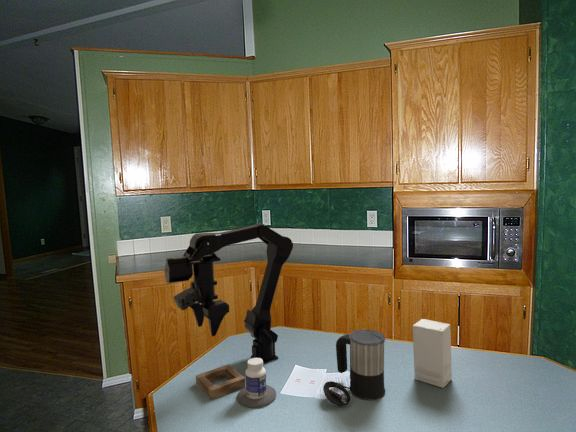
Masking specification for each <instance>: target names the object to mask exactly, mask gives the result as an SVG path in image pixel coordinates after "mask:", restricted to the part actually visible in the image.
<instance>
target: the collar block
mask: <svg viewBox="0 0 576 432" xmlns="http://www.w3.org/2000/svg"><path fill="white" fill-rule="evenodd" d="M224 378H226V379H228V380H226V381H223V382H221V383H218V384H215V385H214V384H213V383H214V382H216V381H218V380H221V379H224ZM212 382H213V383H212ZM195 384H196V385H197V387H198V388H199V389H200V390H201V391H202V392H203V393H204V394H205V395H206V396H207V397H208V398H209V400H211V401H212V400H213V401H214V400H215V399H218V398H220V397H223V396H225V395H228V394H231V393H233V392H236V391H238V390H239V391H240V390H242V389H243V388H245V387H246V377H245V376H243V375H242V374H241V373H240V372H239V371H237V370H236V369H235V368H234V367H232V366H231V365H230V364H226V365H222V366H220V367H217V368H213V369H211V370H208V371H205V372H202V373H200V374H196V375H195Z"/></svg>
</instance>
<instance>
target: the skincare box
mask: <svg viewBox="0 0 576 432" xmlns="http://www.w3.org/2000/svg"><path fill="white" fill-rule="evenodd" d="M451 337H452V334H451V324H450V323H446V322H440V321H435V320H432V319H431V320H430V319H425V318H421V319H420V320H418V321H417V322H416V323H414V324H413V325H412V342H413V346H412V347H413V369H414V370H413V371H414V374H413V375H414V379H415V380H417V381H419V382H420V381H421V382H423V383H426V384H430V385H431V386H432V385H433V386H436V387H439V388H441V389H444V388H445V387H446V386H447V384H449V382H450V381H451V380H452V378H453V375H452V367H453V366H452V338H451Z"/></svg>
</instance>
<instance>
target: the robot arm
mask: <svg viewBox="0 0 576 432" xmlns="http://www.w3.org/2000/svg"><path fill="white" fill-rule="evenodd" d="M254 239H259V240H261V242H263V244H266V259H267V262H266V266H265V270H264V273H263V277H262V280H261V285H260V288H259V291H258V295H257V298H256V303H255V305H254V307H253V308H252V309H251V310H250V309H247V310H246V315H245V318H244V319H243V322H244V329H245V331H246V332H248V333H249V334H250V336H251V338H253V339H252V345H251V355H250V359H252V358H261V359H262V360H263V365H264V364H267V363H271V362H272V361H275V360H278V359H279V356H278V355H276V343H277V341H278V337H279V335H278V334H277V333H276V332H274V331H273V330H272V329H271V328H272V316H271V315H272V314H271V309H272V304H273V301H274V296H275V293H276V290H277V287H278V282H279V279H280V275H281V272H282V269H283V266H284V264H285V263H286V262H287V261H288V260H289V258H290V256H291V253H292V251H293V249H294V243H293V241H292V239H291V238H290V237H287V236H284V235H281V234H280V233H278V232H276V231H275V230H273V229H271V228H270V227H269V226H268V225H267V224H264V223H255V224H253V225H247V226H244V227H240V228H235V229H232V230H227V231H222V232H201V233H199V232H198V233H196V234H193V235H192V236H191V238H190V239H189V245H188V247H187V248H186V250H185V252H184V253H183V255H182V256H180V257H179V256H178V257H167V258H165V264H164V278H165V281H166V284H175V283H181V282H188V281H190V279H192V278H193V280H191V281H190V285H189V286H190V287H189V288H186V289H184V290H183V291H180V292H179V293H177V294H175V295H174V296H173V300H174V302H175V304H176V307H177V308H178V309H180V310H181V311H185V310H187V309H188V308H190V309H191V310H192V312H193V316H194V318H195V321H196V324H197V327H199V328H200V327H203V324H204V320H205V318H206V319H207V320H208V325H209V326H208V327H209V331H210V336H211V337H215V336H216V335H217V333H218V331H219V328H220V326H221V324H222V322H223V320H224V318H225V316H226V315H228V313H230V304H228V303H227V302H226V301H223V300H222V299H219V297H218V296H219V295H218V294H216V291H215V290H216V288H215V286H217V285H218V281H217V280H215V271H214V268H215V267H214V262H220V261H221V258H220V257H219V256H218V255H217V254H216V252H219V251H220V250H221V249H223V248H225V247H227V246H231V245H236V244H239V243H243V242H247V241H252V240H254Z"/></svg>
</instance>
